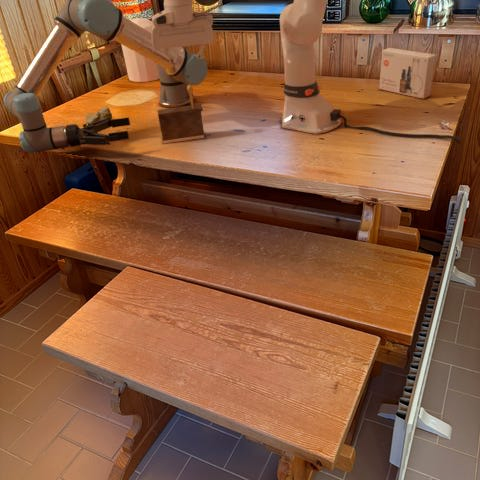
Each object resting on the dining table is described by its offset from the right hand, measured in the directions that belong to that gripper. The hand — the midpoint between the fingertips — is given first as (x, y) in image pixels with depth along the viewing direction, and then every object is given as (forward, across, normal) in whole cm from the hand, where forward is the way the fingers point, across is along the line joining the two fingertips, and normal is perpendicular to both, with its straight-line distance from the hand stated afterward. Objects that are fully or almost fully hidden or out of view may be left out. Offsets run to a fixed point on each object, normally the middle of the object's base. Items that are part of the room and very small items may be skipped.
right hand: (185, 60), depth 154 cm
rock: (+27, +37, -30) cm, 55 cm away
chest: (+27, +5, 0) cm, 27 cm away
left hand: (+20, +23, 0) cm, 31 cm away
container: (+27, +17, -93) cm, 98 cm away
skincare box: (+27, -87, -14) cm, 92 cm away
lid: (+17, +5, 0) cm, 17 cm away
